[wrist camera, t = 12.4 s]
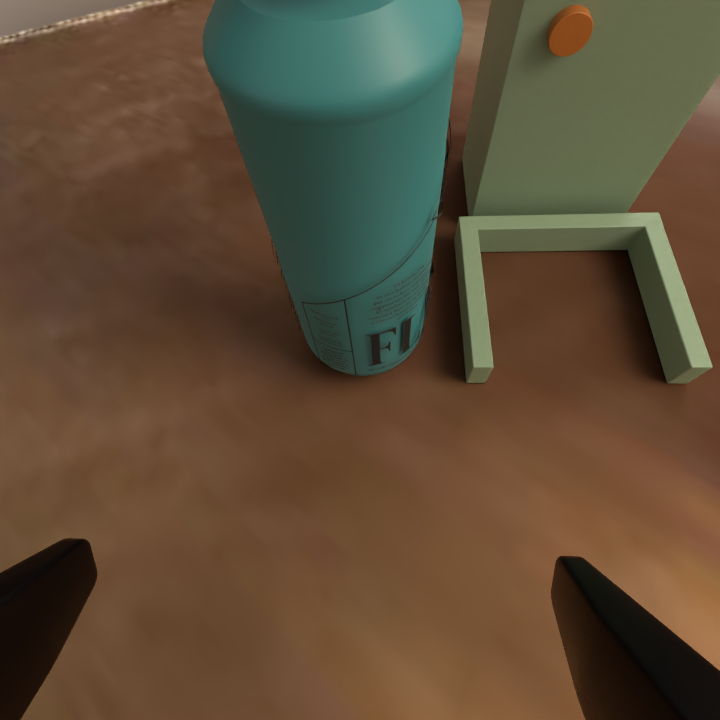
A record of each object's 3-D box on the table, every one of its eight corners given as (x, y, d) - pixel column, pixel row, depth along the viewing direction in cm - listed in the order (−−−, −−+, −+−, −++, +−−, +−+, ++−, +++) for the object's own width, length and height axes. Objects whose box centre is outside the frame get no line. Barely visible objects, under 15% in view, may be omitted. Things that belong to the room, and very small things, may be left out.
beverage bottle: (372, 416, 22) (306, -236, 4) (280, 343, 24) (-22, -296, 6) (448, 329, 24) (624, -375, 6) (357, 268, 26) (290, -386, 8)
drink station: (687, 384, 22) (1251, 35, 8) (466, 383, 23) (602, 61, 8) (612, 149, 29) (829, -256, 15) (446, 154, 30) (501, -229, 16)
